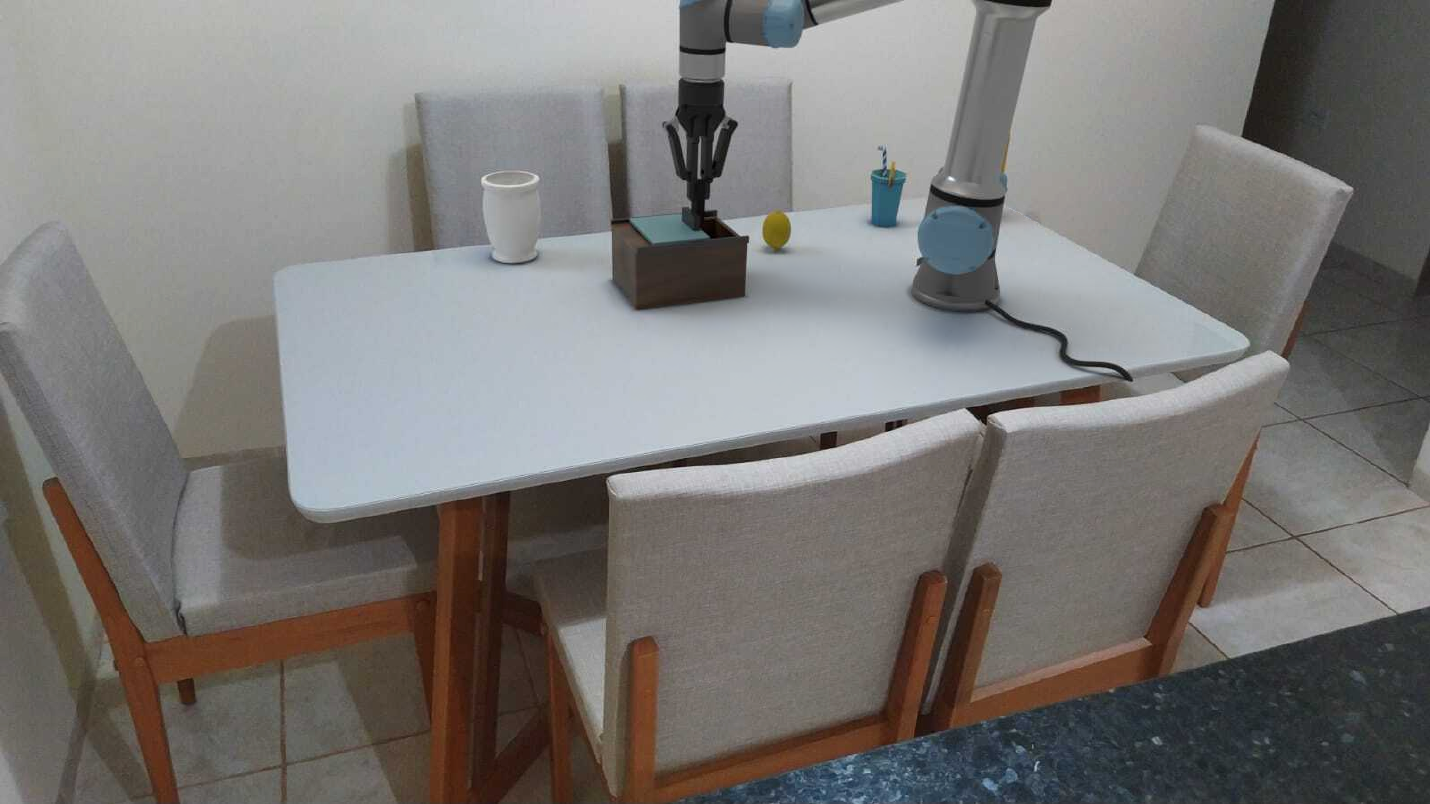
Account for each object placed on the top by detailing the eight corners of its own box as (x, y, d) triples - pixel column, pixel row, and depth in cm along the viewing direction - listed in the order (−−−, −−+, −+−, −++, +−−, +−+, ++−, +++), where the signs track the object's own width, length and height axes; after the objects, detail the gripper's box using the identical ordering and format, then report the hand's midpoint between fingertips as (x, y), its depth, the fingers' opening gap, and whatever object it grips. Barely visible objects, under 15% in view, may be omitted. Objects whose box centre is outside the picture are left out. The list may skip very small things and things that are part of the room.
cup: (855, 212, 228) (861, 143, 220) (889, 211, 229) (896, 142, 222) (874, 233, 215) (882, 161, 208) (910, 232, 217) (919, 160, 210)
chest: (746, 297, 183) (749, 236, 178) (637, 311, 176) (637, 248, 171) (714, 267, 196) (716, 209, 190) (611, 279, 189) (610, 219, 183)
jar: (512, 243, 204) (507, 167, 197) (554, 253, 199) (550, 176, 192) (474, 258, 196) (468, 179, 188) (517, 270, 191) (512, 190, 184)
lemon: (774, 256, 202) (777, 216, 198) (755, 248, 205) (757, 209, 202) (795, 251, 205) (798, 211, 201) (776, 243, 208) (778, 204, 205)
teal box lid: (709, 240, 177) (710, 223, 175) (653, 246, 173) (653, 229, 172) (682, 216, 187) (683, 200, 186) (629, 221, 184) (629, 205, 183)
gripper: (730, 72, 175) (724, 208, 187) (656, 75, 171) (655, 214, 182) (747, 81, 169) (740, 221, 181) (671, 84, 165) (669, 228, 176)
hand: (697, 217), depth 181 cm, fingers closed
